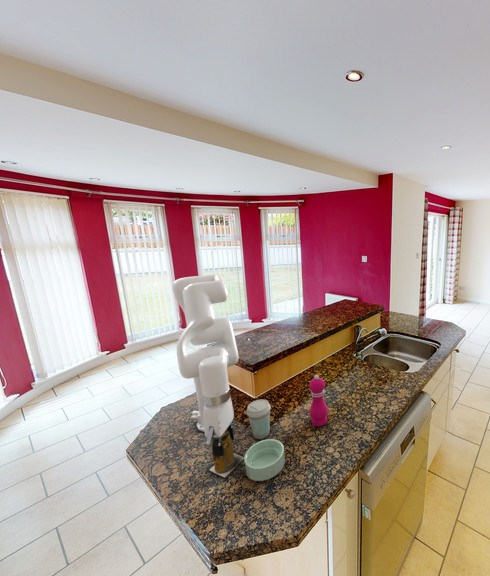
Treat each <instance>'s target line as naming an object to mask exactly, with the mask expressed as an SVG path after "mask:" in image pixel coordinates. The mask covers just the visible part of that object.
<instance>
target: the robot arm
mask: <svg viewBox="0 0 490 576" xmlns="http://www.w3.org/2000/svg"><path fill="white" fill-rule="evenodd" d="M171 287H172V292H173V295H174V298H175V300H176V302H177V303H178V305H179V307H180V308H181V310H182V312H183V313H184V318H185V324H186V327H185V328H184V330H183V331H182V332H181V334H180V335H179V338H178V340H177V343H176V357H177V364H178V370H179V373H180V375H181V377H182V378H183V379H187V380H188V379H193V383H194V388H195V394H196V401H197V406H198V410H193V411H191V420H197V422H196V428H197V430H199V431H200V432H202V433H203V432H204V437H205V438H206V441H205V446H210V447H211V446H212V448H211V451H212V450H213V454H212V456H213V455H214V456H223V455H224V449H223V444H222V443H221V438H222V435H223V433H224V432H225V431H226V429H227V430H228V431H229V432H230V433H229V434H230V437H231V439H232V441H233V440H234V439H235V435H234V434H235V433H234V428H233V427H234V417H235V415H234V414H235V410H234V406H233V402H232V397H231V390H230V389H231V388H230V383H229V375H228V368H229V367H233V366H235V365H237V364H238V362H239V359H240V357H239V351H238V347H237V345H238V344H237V341H236V337H235V332H234V327H233V325H232V322H231V320H230V319H229V318H228V317H224V316H221V317H216V316H215V312H214V308H213V304H220V303H226V301H227V300H228V297H229V295H228V294H229V292H228V288H227V286H226V283H225V282H224V280H223V279H222V277H221V276H220V275H218V274H204V275H194V276H186V277H181V278H177V279H176V280H174V281H173V282H172V285H171ZM218 342H221V343H220V344H215V345H210V346H205V347H201V348H198V349H195V350H194V351H192V352H191V353H187V351H188V350H187V347H188V345H189V343H190V344H191V345H193V346H203V345H208V344H213V343H218ZM214 433H215V434H214ZM215 437H218V441H214V439H215Z"/></svg>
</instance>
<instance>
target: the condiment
mask: <svg viewBox="0 0 490 576" xmlns="http://www.w3.org/2000/svg"><path fill="white" fill-rule="evenodd" d="M229 433H230V432H229V431H228V430H227V429H226V431H225V432H224V433H223V435H222V438H221V443H222V444H223V449H224V455H223V456H214V455H213V450H212V446H210V447H211V453H212V454H211V455H212V461H213V466H211V468H209V469H208V471H210V472H212V473H213V474H216V475H218V476H220V477H223V478H226V477H227V476H229V475H230V474H231V472H233V470H235V469H236V467H238V465H239V464H241V463H242V462H243V461H244V457H245V456H242V455H239V454H237V453H235V452H234V447H233V446H234V445H233V440H232V439H231V437H230V434H229ZM214 434H215V433H214ZM214 441H218V437H215V439H214Z"/></svg>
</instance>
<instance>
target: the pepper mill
mask: <svg viewBox="0 0 490 576" xmlns="http://www.w3.org/2000/svg"><path fill="white" fill-rule="evenodd" d="M325 386H326V383H325V381H324V379H323V378H321V377H320V376H319V375H318V374H315V375H314V377H313V378H312V379H311V380H310V381H309V385H308V387H309V389H310V395H311V396H312V403H311V404H310V407H309V416H310V420H311V421H310V422H311V425H312V426H314V427H322V426H324V425H326V424H327V422H328V414H329V409H328V406H327V405H328V404H327V403H326V402H325V400H324V395H325Z"/></svg>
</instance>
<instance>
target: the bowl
mask: <svg viewBox="0 0 490 576" xmlns="http://www.w3.org/2000/svg"><path fill="white" fill-rule="evenodd" d="M285 455H286V454H285V445H284V444H283V443H282V442H281V441H280V440H277V439H274V438H268V439H262V440H260V441H258V442H255V443H254V444H253V445H251V446H250V447H249V448H248V449H247V450H246V452H245V454H244V456H243V457H244V459H243V462H244V470H245V474H246V476H247V477H248V478H249V479H250V480H252V481H255V482H263V481H267V480H270V479H272V478H274V477H276V476H277V475H278V474H279V473H280V472H281V471H282V470H283V469H284V467H285V463H286V456H285Z"/></svg>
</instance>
